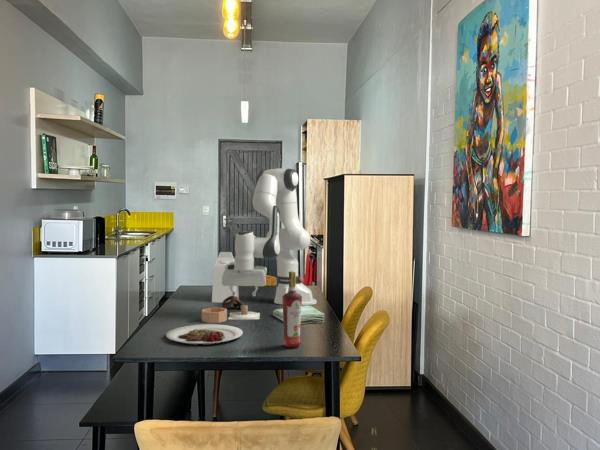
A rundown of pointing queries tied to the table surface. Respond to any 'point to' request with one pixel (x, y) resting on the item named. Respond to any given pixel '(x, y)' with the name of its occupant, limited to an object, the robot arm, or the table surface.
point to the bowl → (214, 315)
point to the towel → (304, 315)
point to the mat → (251, 318)
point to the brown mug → (234, 301)
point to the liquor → (292, 314)
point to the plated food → (204, 334)
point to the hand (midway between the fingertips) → (243, 295)
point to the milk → (218, 289)
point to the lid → (244, 313)
